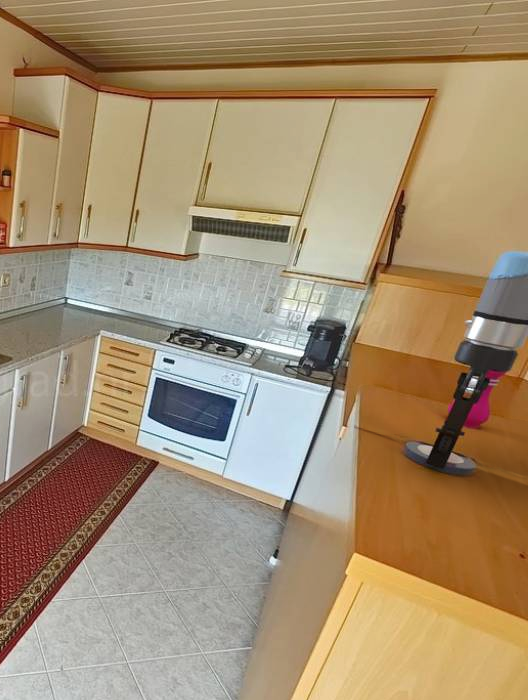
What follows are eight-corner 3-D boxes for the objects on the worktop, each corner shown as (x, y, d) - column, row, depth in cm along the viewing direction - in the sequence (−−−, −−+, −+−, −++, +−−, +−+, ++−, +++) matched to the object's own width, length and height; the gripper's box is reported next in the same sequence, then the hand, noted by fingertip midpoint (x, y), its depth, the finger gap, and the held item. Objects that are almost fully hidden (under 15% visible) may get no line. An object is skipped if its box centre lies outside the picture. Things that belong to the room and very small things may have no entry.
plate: (475, 466, 96) (479, 458, 96) (469, 482, 89) (473, 474, 88) (408, 443, 103) (411, 436, 103) (397, 456, 96) (400, 449, 96)
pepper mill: (474, 439, 110) (514, 354, 103) (435, 425, 116) (471, 345, 109) (484, 434, 114) (524, 352, 107) (447, 421, 120) (482, 343, 113)
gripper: (464, 335, 90) (415, 448, 98) (459, 342, 82) (405, 466, 90) (519, 346, 86) (463, 463, 94) (520, 355, 77) (457, 484, 85)
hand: (435, 464), depth 92 cm, fingers closed
